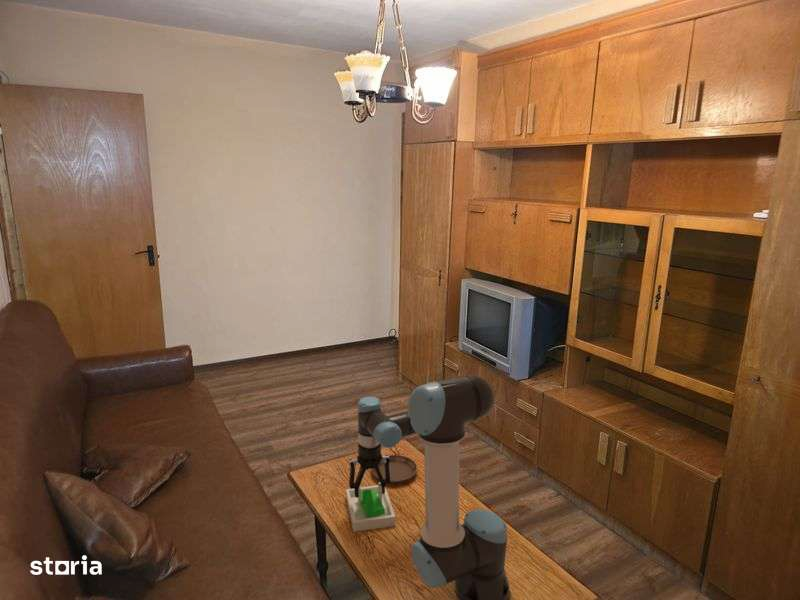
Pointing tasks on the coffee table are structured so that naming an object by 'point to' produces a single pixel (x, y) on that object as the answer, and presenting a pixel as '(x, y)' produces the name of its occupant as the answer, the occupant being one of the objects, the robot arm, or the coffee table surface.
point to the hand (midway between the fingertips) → (369, 502)
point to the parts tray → (359, 516)
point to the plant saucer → (398, 469)
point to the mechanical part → (371, 503)
